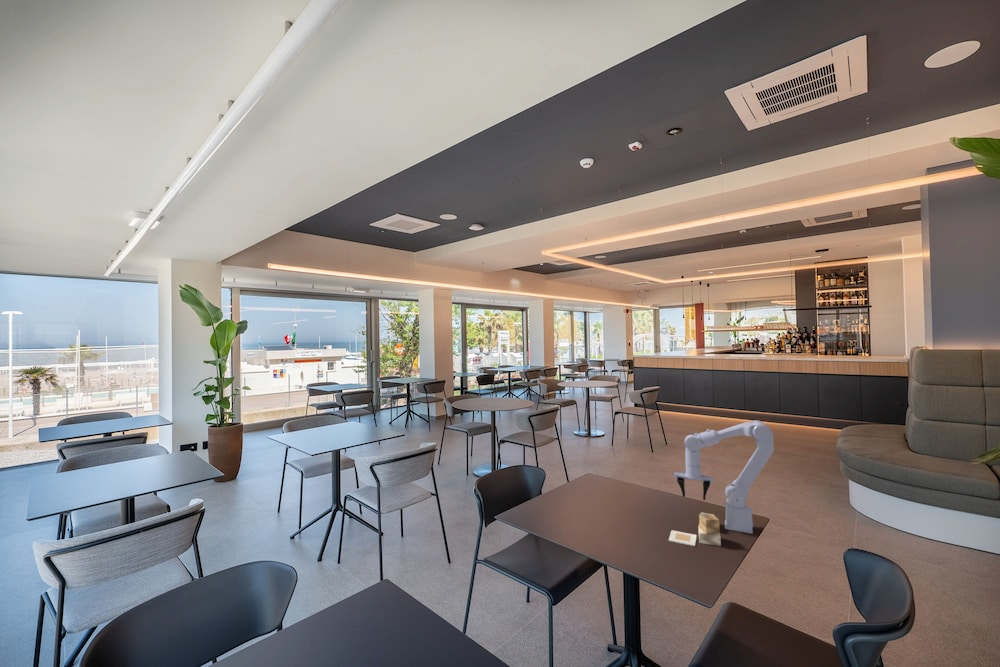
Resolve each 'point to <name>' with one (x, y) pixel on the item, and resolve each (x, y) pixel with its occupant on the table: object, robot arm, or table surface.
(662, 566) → the table surface
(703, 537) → the base block
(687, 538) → the card
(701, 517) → the oak cube
